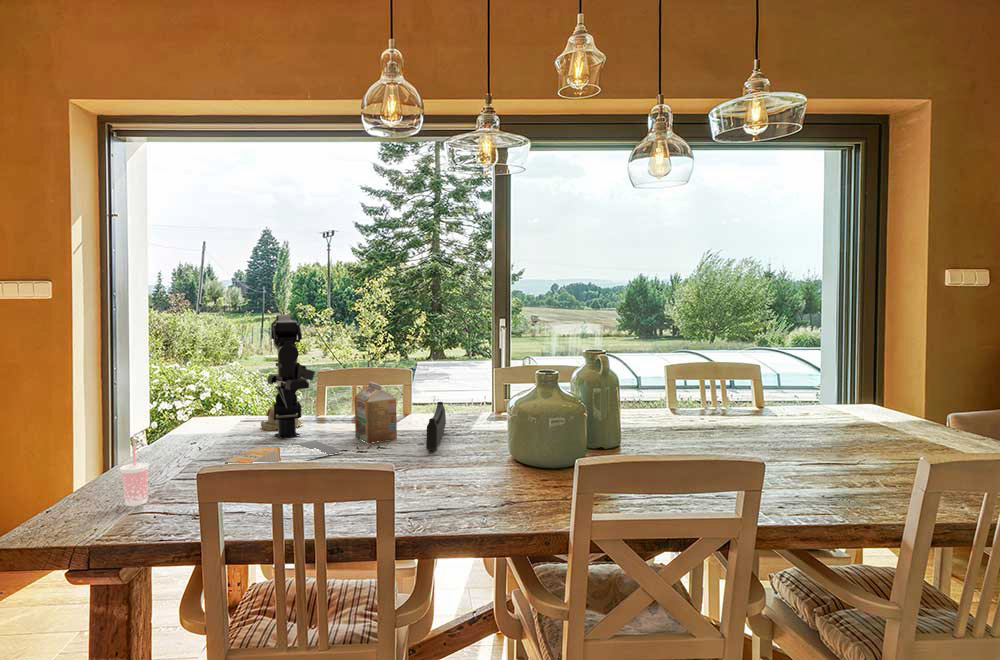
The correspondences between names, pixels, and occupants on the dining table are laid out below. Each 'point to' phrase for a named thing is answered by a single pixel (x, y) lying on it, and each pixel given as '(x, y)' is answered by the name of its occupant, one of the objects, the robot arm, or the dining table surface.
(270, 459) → the supplement box
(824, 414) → the dining table surface
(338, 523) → the dining table surface
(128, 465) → the beverage cup
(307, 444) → the rubber mat
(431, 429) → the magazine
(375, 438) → the milk carton
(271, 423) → the ceramic model
